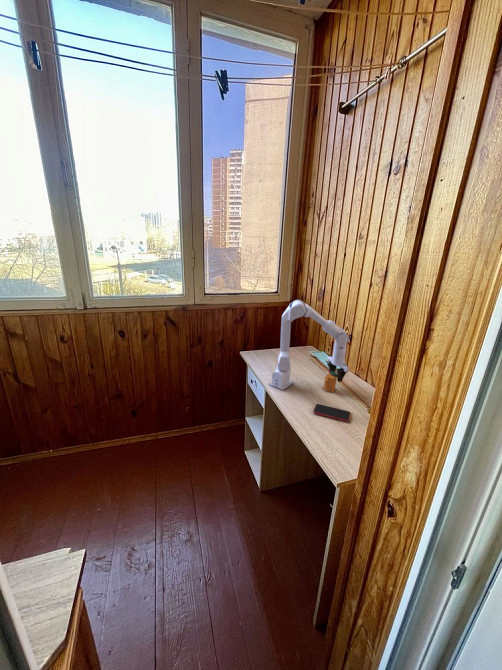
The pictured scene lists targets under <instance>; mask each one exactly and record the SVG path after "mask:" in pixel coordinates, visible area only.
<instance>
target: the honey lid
mask: <svg viewBox="0 0 502 670" xmlns="http://www.w3.org/2000/svg"><path fill="white" fill-rule="evenodd" d="M331 375H333V376H335V377H336V378H338V374H337V370H336V371H331Z"/></svg>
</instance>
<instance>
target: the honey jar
mask: <svg viewBox="0 0 502 670" xmlns="http://www.w3.org/2000/svg"><path fill="white" fill-rule="evenodd" d="M323 381H324V382H323V391H325V392H328V393H333V392H335V391H336V384H337V377H335V376H333V375H331V374H330V373H328V374H326V375H325V376H324V380H323Z"/></svg>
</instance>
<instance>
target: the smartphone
mask: <svg viewBox="0 0 502 670" xmlns="http://www.w3.org/2000/svg"><path fill="white" fill-rule="evenodd" d="M312 411H313V414H314V415H315V414H316V415H319V416H324V417H327V418H330V419H334V420H340V421H342V422H347V423H348V422H349V421H350V418H351V411H349V410H345V409H341V408H337V407H334V406H329V405H325V404H321V403H316V404H315V406H314V408H313V410H312Z"/></svg>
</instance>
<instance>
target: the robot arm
mask: <svg viewBox="0 0 502 670" xmlns="http://www.w3.org/2000/svg"><path fill="white" fill-rule="evenodd" d="M302 317H304V318H311V319H312V320H313V321H315V322H316V323H318V324H319V325H321V326H322V328H321V329H322V330H323V331H324V332H325V333H327V334H328V335H329V336H330V337H331V338H333V339H334V344H333V351H332V355H330V356H327V361H328V362H326V365H327V368H328V370H329V374H331V371H337V374H338V377H337V382H338V383H341V382H343V381H344V378H345V376H346V374H347V373H348V372H350V367H349V366H348V365H347V364H346V361H345V359H346V353H347V352H346V351H347V343H348V342H349V341H350V338H349V334H348V333H347V332H346V330H345V329H344V328H342V327H340V326H339V325H337V324H336V322H335V320H331V319H328V320H327V319H326V318H324V316H322V315H321V314H320V313H319V312H318V311H316V309H314V308H313V307H311V306H310V305H308V304H307V303H305V302H304V301H303V300H301V299H295V300H293V301H291V302H290V303H289V305H288V306H287V308H286V309H285V310H284V311H283V313H282V315H281V322H280V323H281V325H280V346H279V354H278V355H277V365H276V367H275V370H274V372H273V373H272V375H271V377H272V378H271V383H270V386H273V387H275V388H277V389H279V390H282V391H284V390H286V388H288V387H290V386H291V385H293V381H291V369H292V368H291V366H292V365H291V356H290V345H291V328H292V322H294V320H296V319H298V318H302ZM337 367H338V368H337Z"/></svg>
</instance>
